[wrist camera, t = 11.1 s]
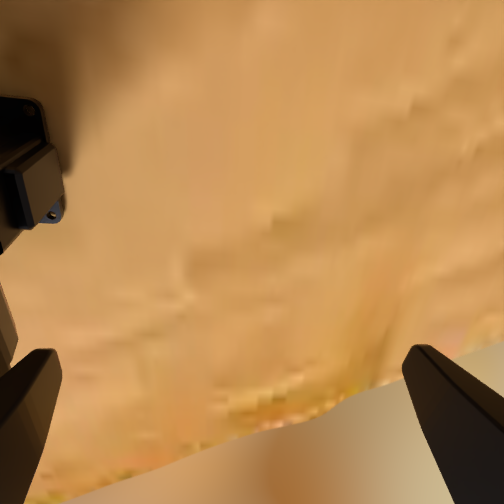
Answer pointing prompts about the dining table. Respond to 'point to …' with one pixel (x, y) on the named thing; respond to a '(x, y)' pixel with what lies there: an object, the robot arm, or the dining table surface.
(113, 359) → the dining table surface
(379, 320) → the dining table surface
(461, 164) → the dining table surface
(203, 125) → the dining table surface
